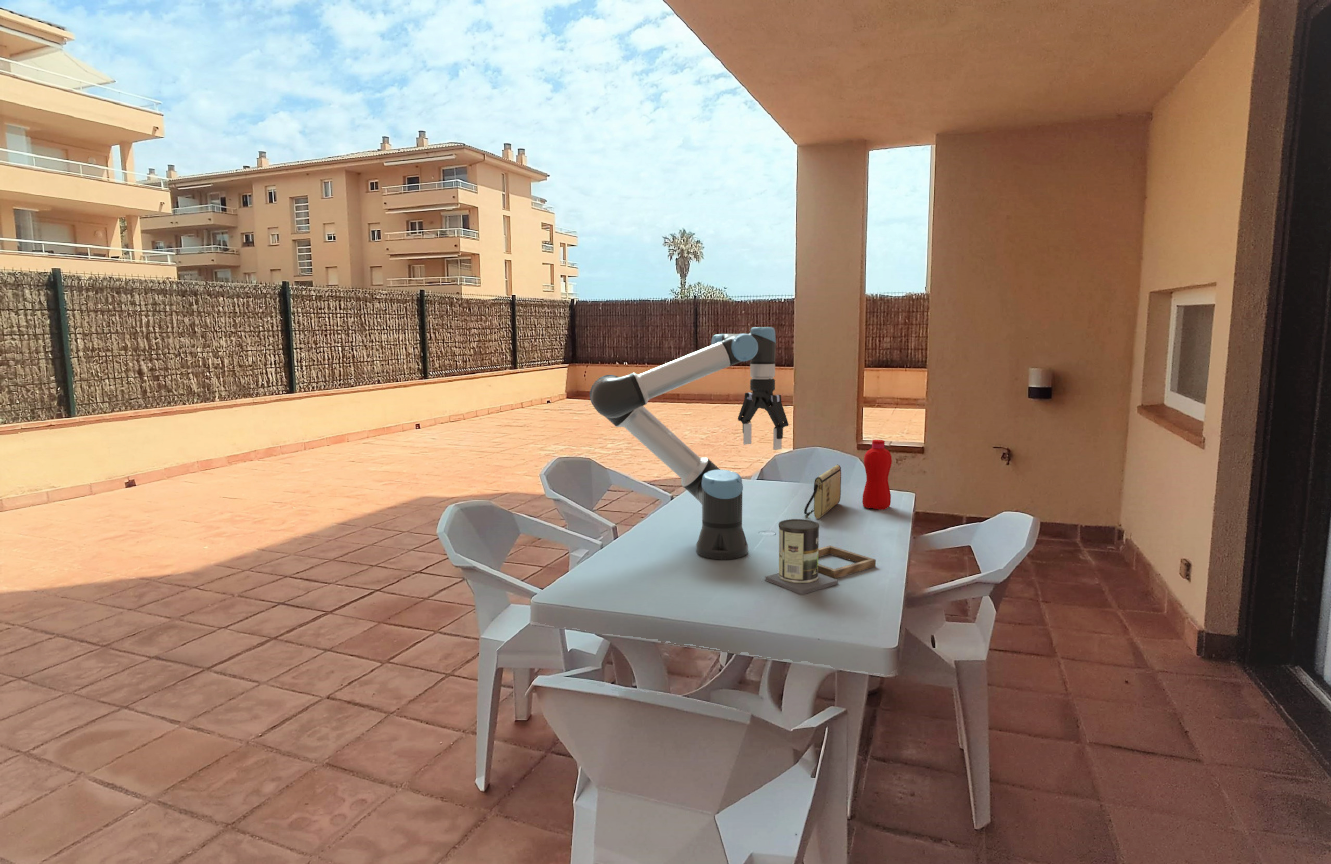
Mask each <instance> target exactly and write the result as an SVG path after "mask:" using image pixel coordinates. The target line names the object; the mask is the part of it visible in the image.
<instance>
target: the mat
mask: <svg viewBox="0 0 1331 864" xmlns="http://www.w3.org/2000/svg"><path fill="white" fill-rule="evenodd" d="M778 575H779V572H778V573H777V572H776V573H773V574H769V575H766V576H764V578H765V581H766V582H769V583H772V584H774V585H777V586H778V587H782V588H784V589H786V590H789V591H792V592H794V593H796V594H799V595H807V594H808V593H812V592H815V591H819V590H822V589H826V588H829V587H832V586H835V585H838V584H839V580H838V579H837V578H835V579H834V578H831V577H828V576H826V575H823V574H820V573H818V579H817V580H816V581H814V582H810V583H792V582H787V581H784V580H782V579H780V578H779V576H778Z"/></svg>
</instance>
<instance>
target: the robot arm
mask: <svg viewBox="0 0 1331 864" xmlns="http://www.w3.org/2000/svg"><path fill="white" fill-rule="evenodd" d="M776 340H777V339H776V329H775V328H774V327H772V326H764V327H763V326H762V327H761V326H759V327H758V326H757V327H756V326H753V327H751V328H750V332H749V333H743V332H742V333H718V334H714V335H712V338H711V340H710V343H711V344H710V345H709V346H706V347H704V348H701V349H699V350H696V351H693V352H691V353H688V354H686V355H684V356H681V357H678V358H677V359H674V360H672V361H669V362H666V363H664V364H661V365H659V366H655V367H654V368H651V369H649V370H647V371H644V372H641V373H639V374H638V373H636V372H632V373H629V374H627V375H623V376H617V375H614V374H605V375H603V376H601V377H598V379H597V380H595V381H594V383H593V384H592V385H591V388H590V391H589V399H590V403H591V404H592V407H594V409H595V410H596V412H597V413H598V414H599V415H601V416H603V417H604V418H606V419H607V420H608V421H609V422H610V423H612V425H614V427H616V428H625V429H626V431H628V432H629V433H630V434H631V435H632V436H633V437H635V438H636V439H637V441H639V442H640V443H642V444H641V445H643V446H645V448H647V449H648V450H649V451H650V452H651V453H652V454H653V455H655V457H657V458H658V459H659V460H660V461H661V462H662V463H663V464H665V466H667V468H669V469H670V470H671V471H672V472H674V473H675V474H676V475H677V476H678V477H679V478H680V479H681V481H680V482H681V483H680V484H681V486H682V487H683V488H684V489H685V490H686V491H687V492H688V493H690V495H692V496H693V497H694V498H695V499H696V500H697V501H699V503H700V504H701V509H702V510H701V518H702V519H701V529H700V532H699V536H698V540H697V542H696V544H695V545H696V546H695V547H696V548H695V552H696V554H697V555H698V556H700V557H703V558H707V559H711V560H712V559H713V560H735V559H740V558H743V557H745V556H746V555H748V554H749V544H748V542H747V539H746V538H747V537H746V535H745V531H744V529H743V491H744V485H743V479H742V476H741V475H740V474H739V473H738V472H735V471H731V470H729V469H721V468H720V467H718V465H716V464H715V463H714V462H713V461H711V459H709V458H708V457H705V456H703V457H701V456H699V455H698V454H696V453H695V451H693V449H691V448H690V447H689V446H688V445H687V444H686V443H685V442H683V441H682V439H681V438H679V437H678V436H677V435H676V434H674V432H672V431H671V430H670V429H669V428H668V427H667V426H666V425H665V424H664V423H662V422H661V420H659V419H658V418H657V417H656V416H655V415H654V414H653V413H652V412H651V411H649V410H648V409H647V407H645V406H646V405H647V404H648V401H649V400H652V399H653V398H655V397H658V396H661V395H663V394H665V393H668V392H670V391H672V390H675V389H677V388H681V387H682V386H685V385H687V384H689V383H692V382H695V381H697V380H699V379H702V378H704V377H706V376H709V375H712V374H713V373H716V372H719V371H721V370H724V369H726V368H729V367H730V366H734V365H736V364H738V363H741V362H748V361H750V362H749V363H750V366H749V367H750V368H749V370H750V371H749V374H750V375H749V376H750V377H751V379H750V381H749V384H750V385H749V389H750V391H751V392H745V393H744V398H743V399H744V400H743V403H742V405H741V408H740V411H739V413H738V416H737V417H738V418H737V421H738V422H740V423H741V424H742V434H743V436H742V437H743V438H742V439H743V445H744V446H745V445H752V426H753V425H752V422H751V420H752V419H753V417H754V416H755V415H756V413H757V411H758V409H762V410H765V411H766V412H767V414H768V416H769V417H770V419H771V421H772V423H773V424H774V427H773V439H772V440H773V446H772V450H774V451H777V450H778V451H779V450H782V446H783V445H782V443H783V442H782V441H783V440H782V439H783V438H784V428H786V427H788V426H789V421H788V418H787V415H786V413H785V409H784V406H783V403H782V396H781V394H774V392H775V390H776V379H775V378H774V377H775V376H776V346H777V345H776V344H777V342H776Z"/></svg>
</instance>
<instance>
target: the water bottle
mask: <svg viewBox="0 0 1331 864" xmlns="http://www.w3.org/2000/svg"><path fill="white" fill-rule="evenodd" d="M863 457H864V458H863V464H864V469H865V476H866V480H865V481H866V482H865V485H864V488H863V493H862V502H861V503H862V507H864V508H865V507H866V509H869V508H873V509H872V510H877V509H878V510H879V511H884V510H886V509H888V508H890V506H891V502H892V494H891V489H890V485H889V475H890V472H891V471H890V470H891V468H892V464H893V459H892V458H893V457H892V454H891V452H890V451H889V450H888V449H886V448H885V440H883V439H872V442H871V448H870V449H868V450H867V451H866V453H865V454H864V456H863ZM878 510H877V511H878Z"/></svg>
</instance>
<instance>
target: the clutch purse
mask: <svg viewBox="0 0 1331 864" xmlns="http://www.w3.org/2000/svg"><path fill="white" fill-rule="evenodd" d="M841 493H842V467H841V465H839V464H835V465H834V466H833V467H831V468H830V469H828V470H826V471H825V472H824V473H822V474H820V475H819V476H816V478H815V479H814V484H813V493H812V494H811V497H810V498H809V500H808V501H807V503H806V505H805V506H804V507H805V508H804V510H803V513H804V515H808V514H811V513H812V512H810V511H809V512H808V508H809V507H810V505H811V503H812V501H813V509H814V511H813V515H814V518H815V519H816V520H820V519H821V518H822V517H823V516H825V515H826V513H828V512H829V511H830V510H832V508H834V507H835V506H836V505H838V504H840V501H841V497H842V496H841ZM837 503H838V504H837Z"/></svg>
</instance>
